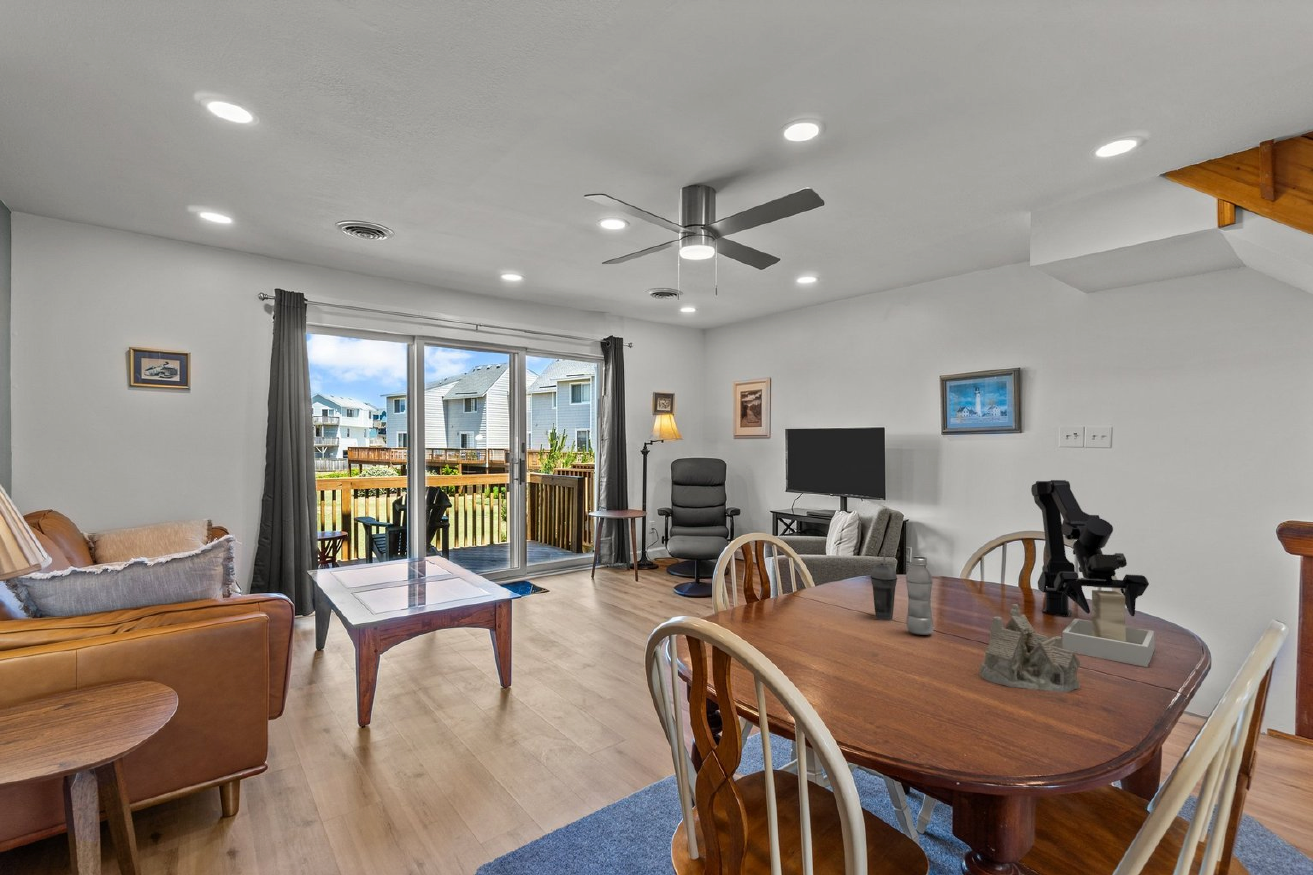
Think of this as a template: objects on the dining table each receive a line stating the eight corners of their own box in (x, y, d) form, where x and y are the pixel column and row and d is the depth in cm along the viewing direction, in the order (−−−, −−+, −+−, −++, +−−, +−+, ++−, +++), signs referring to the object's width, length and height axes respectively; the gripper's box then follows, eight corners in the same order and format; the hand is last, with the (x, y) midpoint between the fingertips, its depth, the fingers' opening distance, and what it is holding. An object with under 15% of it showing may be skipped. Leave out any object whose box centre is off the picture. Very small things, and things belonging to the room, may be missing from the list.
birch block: (1092, 642, 151) (1091, 589, 151) (1116, 644, 149) (1115, 591, 150) (1101, 649, 146) (1100, 594, 146) (1125, 651, 145) (1125, 595, 145)
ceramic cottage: (967, 671, 134) (972, 603, 133) (1020, 664, 140) (1025, 599, 139) (1034, 704, 119) (1040, 628, 119) (1090, 694, 125) (1096, 622, 125)
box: (1075, 635, 159) (1075, 618, 159) (1154, 649, 148) (1154, 631, 148) (1062, 650, 147) (1062, 632, 147) (1147, 667, 136) (1147, 646, 136)
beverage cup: (893, 614, 179) (893, 546, 179) (901, 622, 171) (900, 550, 172) (867, 614, 179) (867, 546, 180) (874, 621, 172) (873, 550, 172)
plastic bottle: (938, 637, 157) (937, 559, 158) (911, 637, 158) (911, 559, 158) (927, 630, 164) (927, 555, 164) (902, 630, 164) (901, 555, 164)
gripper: (1057, 539, 154) (1075, 593, 143) (1144, 542, 149) (1169, 598, 138) (1047, 564, 162) (1063, 617, 151) (1129, 568, 157) (1152, 623, 146)
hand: (1110, 614), depth 146 cm, fingers open, 9 cm apart
